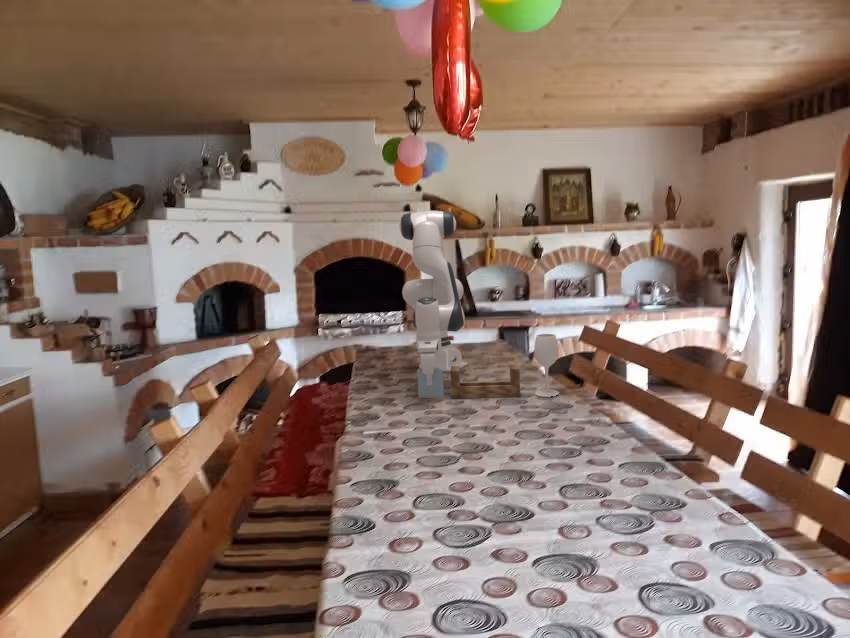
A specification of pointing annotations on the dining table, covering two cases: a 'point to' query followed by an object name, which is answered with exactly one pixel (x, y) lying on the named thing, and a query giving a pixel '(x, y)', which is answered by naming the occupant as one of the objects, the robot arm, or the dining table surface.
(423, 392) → the door panel
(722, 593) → the dining table surface
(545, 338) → the wineglass
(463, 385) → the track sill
